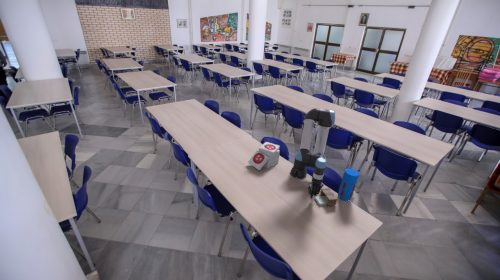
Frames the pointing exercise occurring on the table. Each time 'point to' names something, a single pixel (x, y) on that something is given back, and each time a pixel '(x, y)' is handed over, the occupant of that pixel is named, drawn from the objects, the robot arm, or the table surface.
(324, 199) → the board
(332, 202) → the tan notched block
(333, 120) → the robot arm
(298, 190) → the table surface
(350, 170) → the thermos
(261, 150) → the pizza boxes
